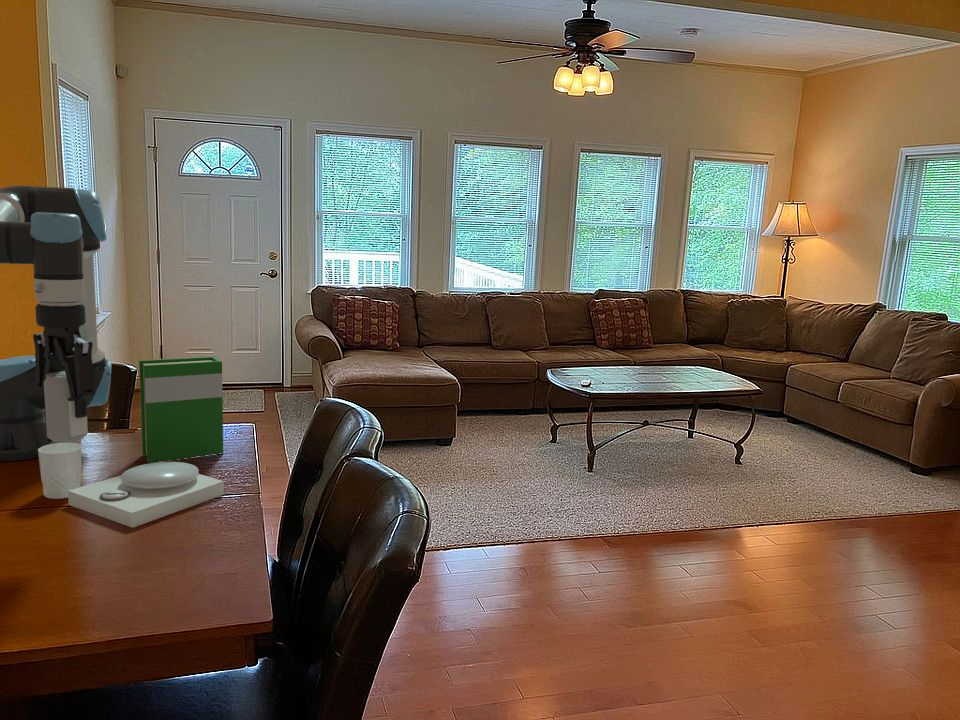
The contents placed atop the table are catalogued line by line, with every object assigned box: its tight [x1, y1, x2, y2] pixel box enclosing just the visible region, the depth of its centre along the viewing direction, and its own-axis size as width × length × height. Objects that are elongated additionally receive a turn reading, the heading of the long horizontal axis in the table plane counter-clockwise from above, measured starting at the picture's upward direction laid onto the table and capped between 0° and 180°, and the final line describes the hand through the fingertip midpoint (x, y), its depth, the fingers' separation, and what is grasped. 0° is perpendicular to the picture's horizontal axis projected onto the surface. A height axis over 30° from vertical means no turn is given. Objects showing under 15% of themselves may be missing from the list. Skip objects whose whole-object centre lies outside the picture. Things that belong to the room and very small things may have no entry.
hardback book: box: [138, 356, 224, 464], centre depth 179 cm, size 18×7×24 cm, turn 124°
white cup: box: [38, 442, 83, 500], centre depth 152 cm, size 8×8×10 cm
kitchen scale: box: [68, 461, 225, 529], centre depth 151 cm, size 20×22×5 cm
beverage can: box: [44, 371, 89, 443], centre depth 129 cm, size 6×6×12 cm
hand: (67, 430), depth 130 cm, fingers closed on beverage can, 6 cm apart
